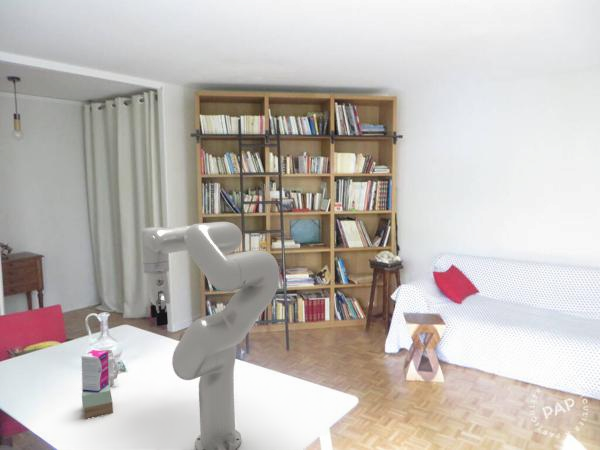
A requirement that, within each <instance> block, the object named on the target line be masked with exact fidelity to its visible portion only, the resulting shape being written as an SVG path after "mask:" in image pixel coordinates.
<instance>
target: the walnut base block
mask: <svg viewBox="0 0 600 450" xmlns="http://www.w3.org/2000/svg"><path fill="white" fill-rule="evenodd" d="M110 392H111V390H110ZM113 405H114V403H113V398H112V396H111V403H106V404H101V405H96V406H91V407H86V408H84V418H85V419H86V420H89V419H88V418H90V419H93V418H92V417H95V418H97V416H99V417H103V416H107V415H111V414H114V407H113ZM106 414H107V415H106ZM102 415H103V416H102Z"/></svg>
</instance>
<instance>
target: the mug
mask: <svg viewBox="0 0 600 450" xmlns="http://www.w3.org/2000/svg"><path fill="white" fill-rule="evenodd" d="M98 351H108V373H109V380H110V387H111V386H113V385H114V383H115V380H117V378H118V375H119V371H120V369H119V363H118V361H117V358H116V357H114V351H113V350H112V349H108V348H107V349H106V348H105V349H100V350H98ZM114 367H115V370H114ZM114 371H115V372H114Z"/></svg>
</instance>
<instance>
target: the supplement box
mask: <svg viewBox="0 0 600 450" xmlns="http://www.w3.org/2000/svg"><path fill="white" fill-rule="evenodd" d="M81 379H82V380H81V381H82V384H81V386H82V387H81V388H82V389H81V391H87V392H99V391H100V390H102V389H103V388H104V387H106V386H108V385H109V373H108V351H99V350H97V349H96V350H95V349H93V350H91V351H88V352H87V353H84V354H83V355H82V356H81Z"/></svg>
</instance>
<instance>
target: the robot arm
mask: <svg viewBox="0 0 600 450" xmlns="http://www.w3.org/2000/svg"><path fill="white" fill-rule="evenodd" d="M242 233H243V232H242V230H241V229H240V227H239V226H237V225H236V224H235V223H232V222H229V221H214V222H213V221H212V222H203V223H202V222H201V223H194V224H192V225H183V226H182V225H181V226H173V227H172V226H170V227H163V226H151V227H145V228H143V229H142V230H141V234H140V236H141V238H140V239H141V251H142V252H141V253H142V264H143V265H142V266H143V267H142V268H143V274H146V275H147V289H148V290H147V291H148V297H149V301H150V316H151V318H152V319H153V318H155V320H156V327H159V326H167V325H168V324H169V322H168V321H169V320H168V309H167V305H169V304H170V302H171V299H170V297H171V296H170V288H169V281H168V274H167V273H168V272H169V271H170V265H169V254H171V253H177V252H183V251H184V252H185V251H187V252H188V254H189V255H190V258H191V260H193V262H194V263H195V264H196V266H197V267H198V268H199V269H200V271H201V273H202V274H203V275H204V277H205V278H206V279H207V280H208V282H209V283H210V284H211V285H212V286H213V288H215V289H216V290H218V291H221V292H227V293H228V292H233V291H236V292H235V293H234V295H232V297H230V300H229V301H228V303H227V304H226V305H225V307H224V308H223V309H222V310H220V311H217V312H215V313H211V314H209V315H205V316H202V317H200V318H198V319H195V321H192V323H190V325H188V327H187V329H186V330H185V332H184V333H183V335H182V337H181V339H180V340H179V342H178V343H177V345H176V346H175V349H174V351H173V354H172V363H171V364H172V369H173V371H174V373H175V375H176V376H177V377H178V378H179V379H182V380H184V381H192V380H195V379H198V378H199V377H200V378H199V380H198V404H199V406H198V408H199V425H200V428H199V429H200V434H199V435H198V436H197V437H196V439H195V442H194V444H195V449H196V450H236V449H238V448H239V446H240V445H241V442H242V436H241V433H240V432H239V430H236V422H235V421H236V420H235V417H236V415H235V414H236V413H235V392H234V391H235V387H234V386H235V385H234V380H235V379H234V378H235V377H234V375H235V374H234V373H235V363H236V359H237V358H236V357H237V345H238V344H240V343H241V342H242V341H243V340H244V339H245V337H246V336H247V335H248V333H249V332H250V331H251V329H252V328H253V327H254V325H255V324H256V323H257V321H258V319H259V318H260V317H261V315H262V314H263V312H264V311H265V310H266V308H267V307H268V306H269V305H270V303H271V302H272V301H273V299H274V297H275V295H276V293H277V291H278V288H279V284H280V269H279V265H278V262H277V259H276V258H275V256H274V255H272V254H271V253H270V252H269V251H264V250H258V249H257V250H256V249H254V250H249V251H248V250H247V251H242V252H236V253H233V252H235V251H237V250H238V248H240V246H241V244H242V241H243V234H242ZM166 304H167V305H166Z"/></svg>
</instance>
